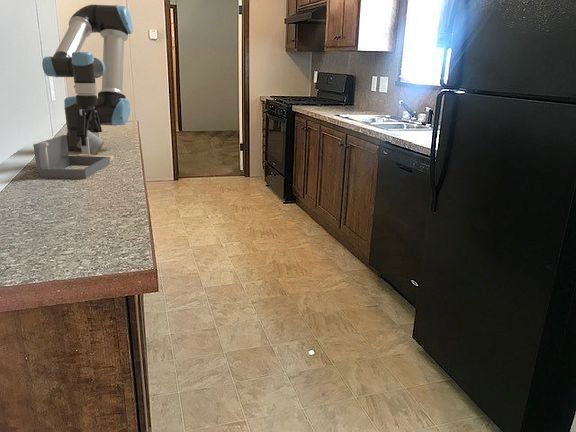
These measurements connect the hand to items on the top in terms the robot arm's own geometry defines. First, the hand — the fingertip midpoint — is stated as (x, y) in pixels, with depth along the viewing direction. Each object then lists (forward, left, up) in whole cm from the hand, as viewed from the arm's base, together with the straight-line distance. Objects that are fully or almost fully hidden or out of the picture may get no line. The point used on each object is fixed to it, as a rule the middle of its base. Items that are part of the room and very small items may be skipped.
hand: (91, 151), depth 186 cm
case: (+20, +2, -4) cm, 21 cm away
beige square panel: (0, 0, -4) cm, 4 cm away
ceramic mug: (0, 0, -2) cm, 2 cm away
